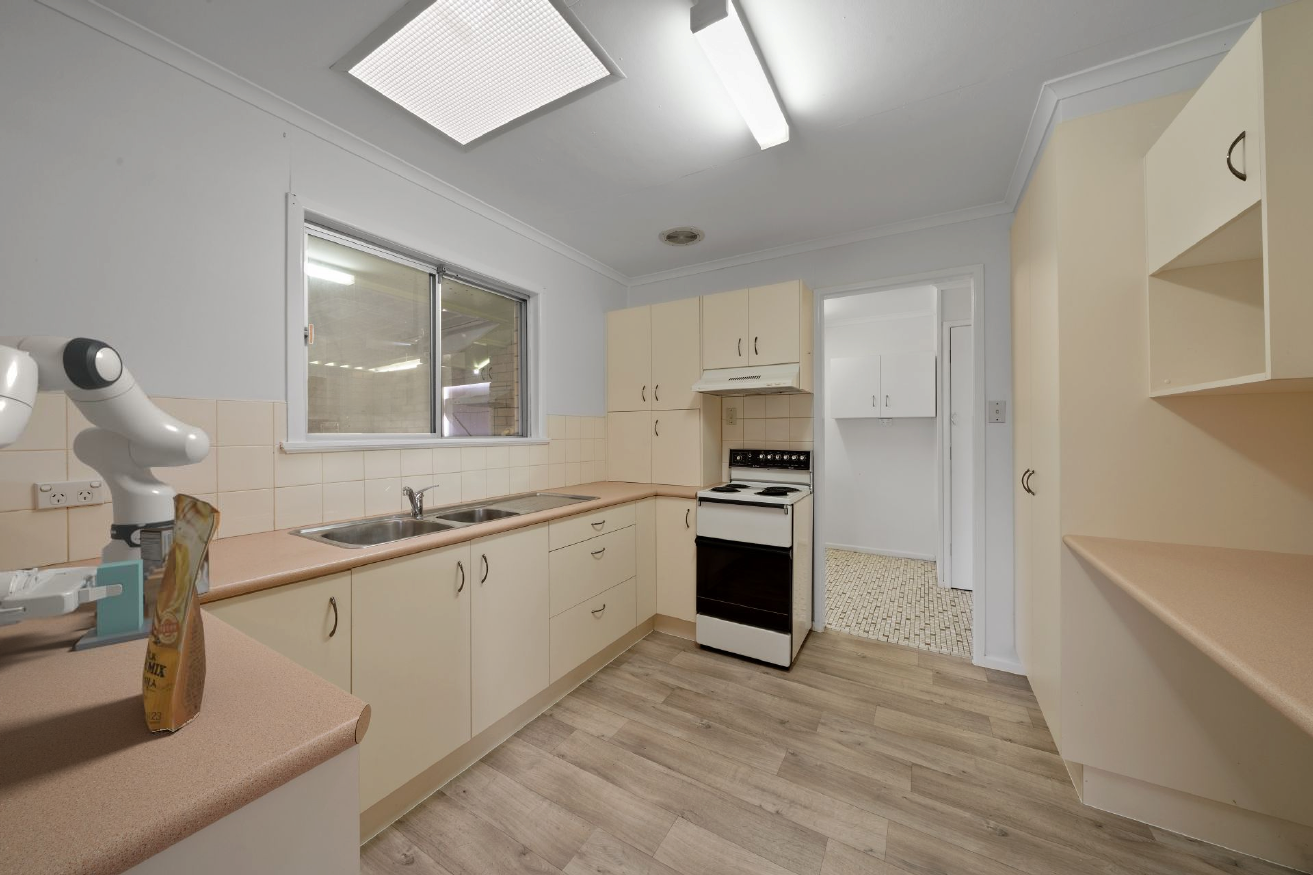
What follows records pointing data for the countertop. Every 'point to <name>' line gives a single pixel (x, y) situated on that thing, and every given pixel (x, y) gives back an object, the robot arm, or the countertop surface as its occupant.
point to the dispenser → (149, 591)
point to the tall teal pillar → (120, 598)
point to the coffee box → (157, 551)
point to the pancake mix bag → (179, 622)
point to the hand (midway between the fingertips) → (128, 581)
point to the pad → (113, 636)
